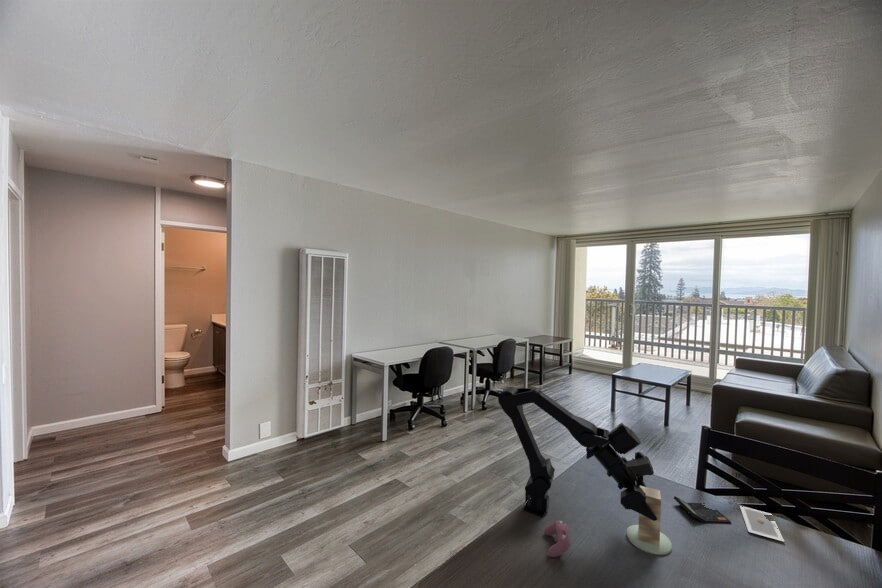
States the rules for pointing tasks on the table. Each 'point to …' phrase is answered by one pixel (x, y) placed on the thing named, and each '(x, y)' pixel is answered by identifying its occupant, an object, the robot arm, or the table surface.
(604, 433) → the robot arm
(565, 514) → the table surface
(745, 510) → the touchpad
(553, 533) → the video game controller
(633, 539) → the sage mat
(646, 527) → the maple block
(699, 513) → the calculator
